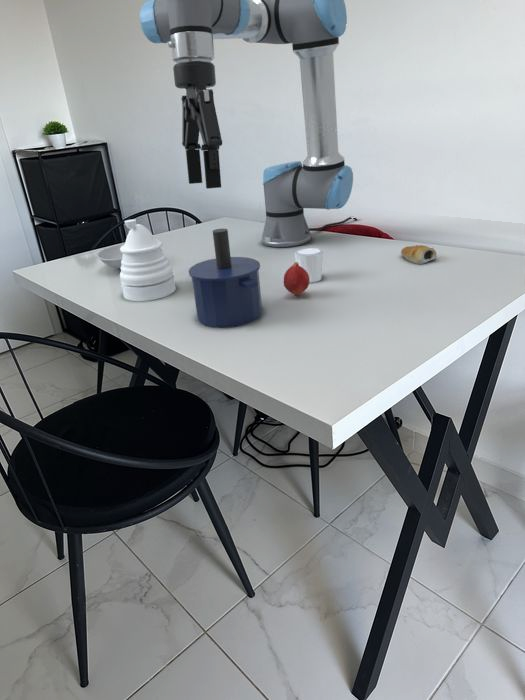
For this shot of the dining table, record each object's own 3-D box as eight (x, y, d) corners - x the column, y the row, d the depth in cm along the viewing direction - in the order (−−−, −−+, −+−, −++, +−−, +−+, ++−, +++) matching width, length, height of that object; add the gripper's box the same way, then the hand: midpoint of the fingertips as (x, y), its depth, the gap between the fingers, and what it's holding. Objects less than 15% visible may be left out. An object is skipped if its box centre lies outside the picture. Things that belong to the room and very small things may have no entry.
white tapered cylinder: (305, 285, 122) (304, 256, 119) (291, 278, 128) (289, 250, 124) (329, 279, 125) (328, 251, 121) (314, 272, 130) (313, 245, 127)
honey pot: (150, 304, 119) (136, 226, 111) (112, 297, 125) (96, 223, 118) (186, 286, 128) (175, 214, 121) (148, 280, 135) (136, 212, 127)
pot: (230, 296, 119) (226, 254, 115) (282, 317, 106) (279, 270, 101) (180, 312, 112) (173, 269, 108) (228, 337, 98) (222, 288, 94)
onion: (280, 299, 115) (277, 264, 112) (291, 290, 120) (289, 257, 116) (303, 301, 112) (302, 266, 109) (314, 292, 117) (312, 258, 113)
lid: (233, 258, 114) (229, 218, 110) (274, 270, 103) (271, 227, 99) (176, 274, 106) (169, 232, 102) (214, 289, 96) (208, 244, 92)
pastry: (394, 257, 136) (395, 243, 134) (413, 252, 139) (414, 238, 137) (419, 265, 129) (420, 250, 127) (439, 260, 131) (440, 245, 130)
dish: (149, 273, 141) (145, 255, 139) (95, 280, 140) (91, 262, 137) (150, 256, 157) (148, 240, 155) (103, 262, 155) (99, 246, 153)
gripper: (160, 71, 102) (172, 182, 110) (189, 51, 81) (202, 191, 89) (196, 71, 104) (205, 180, 113) (234, 52, 83) (242, 188, 91)
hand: (204, 185), depth 101 cm, fingers open, 13 cm apart
